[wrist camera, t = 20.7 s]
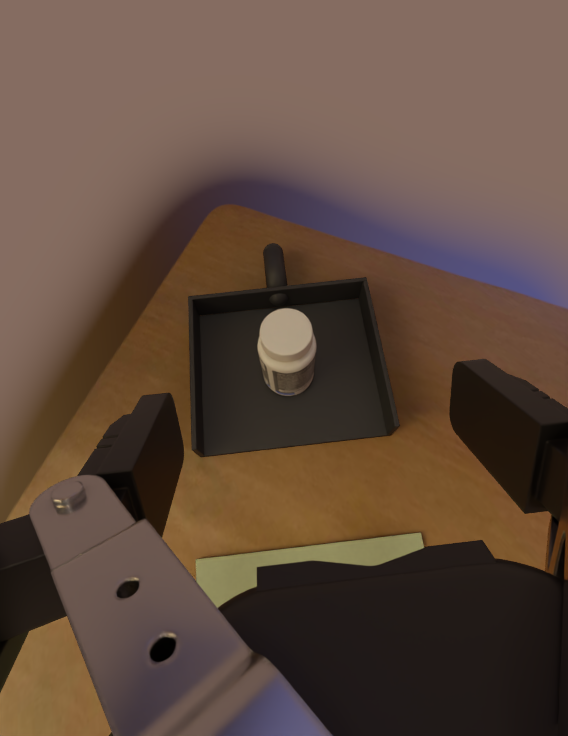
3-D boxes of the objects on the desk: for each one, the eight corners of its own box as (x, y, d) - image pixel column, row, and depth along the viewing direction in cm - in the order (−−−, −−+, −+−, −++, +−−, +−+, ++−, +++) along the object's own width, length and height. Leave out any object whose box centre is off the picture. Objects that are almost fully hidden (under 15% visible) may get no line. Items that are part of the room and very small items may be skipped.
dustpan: (391, 435, 35) (400, 426, 32) (200, 457, 35) (191, 450, 32) (350, 248, 43) (355, 226, 40) (194, 265, 43) (186, 244, 40)
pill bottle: (323, 365, 38) (330, 322, 30) (296, 406, 36) (296, 371, 28) (280, 341, 39) (277, 293, 31) (252, 379, 37) (241, 339, 30)
